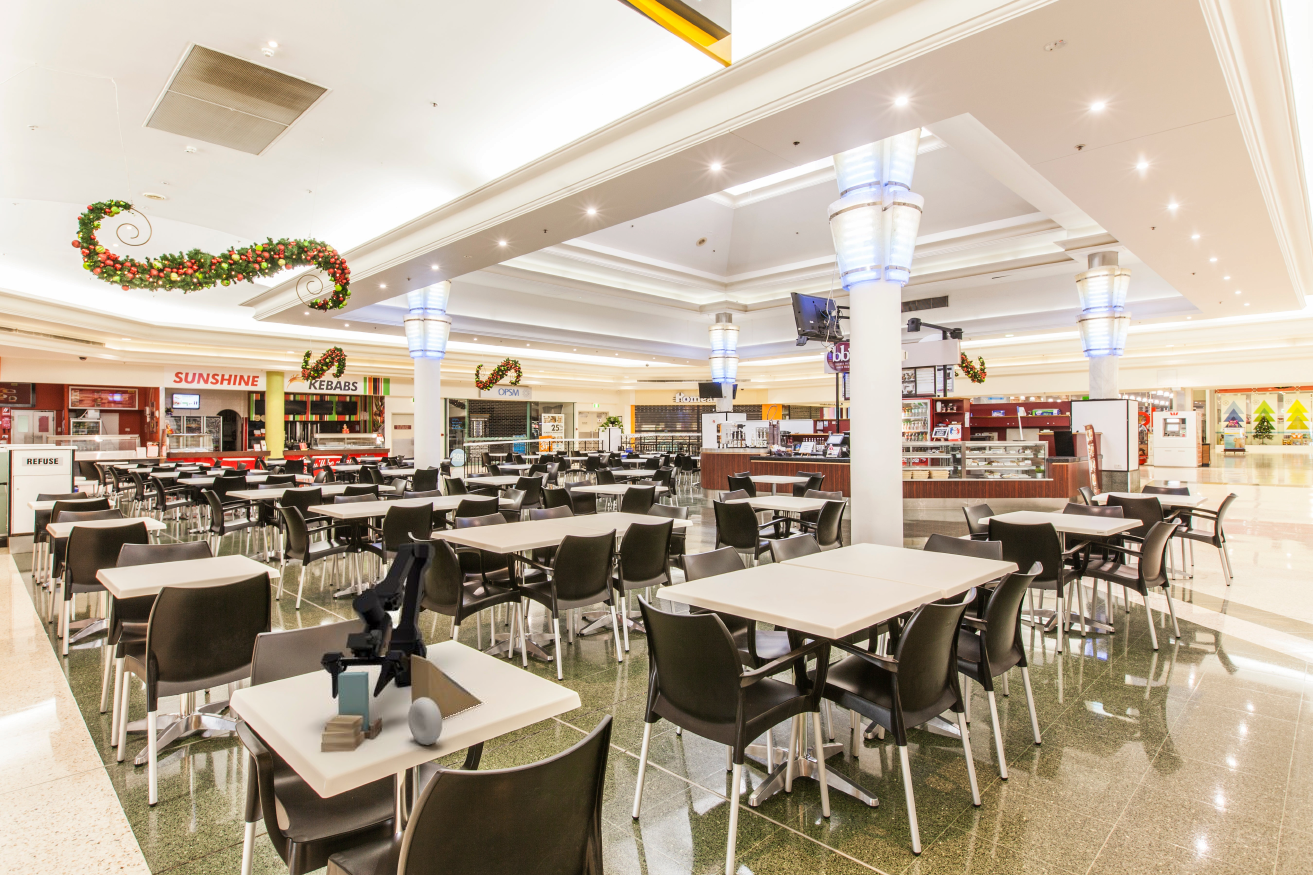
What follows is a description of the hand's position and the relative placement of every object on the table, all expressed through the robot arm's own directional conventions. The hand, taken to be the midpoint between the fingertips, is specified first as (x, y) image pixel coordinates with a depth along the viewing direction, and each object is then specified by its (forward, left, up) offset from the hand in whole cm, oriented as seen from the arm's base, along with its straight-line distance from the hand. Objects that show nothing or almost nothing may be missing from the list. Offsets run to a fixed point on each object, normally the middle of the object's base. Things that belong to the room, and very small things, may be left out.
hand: (354, 697), depth 144 cm
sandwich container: (-21, -5, -9) cm, 24 cm away
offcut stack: (+2, +5, -9) cm, 10 cm away
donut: (-14, +12, -9) cm, 21 cm away
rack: (0, 0, -8) cm, 9 cm away
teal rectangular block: (0, 0, -9) cm, 9 cm away
